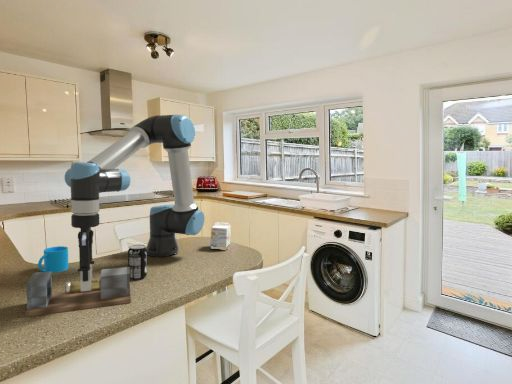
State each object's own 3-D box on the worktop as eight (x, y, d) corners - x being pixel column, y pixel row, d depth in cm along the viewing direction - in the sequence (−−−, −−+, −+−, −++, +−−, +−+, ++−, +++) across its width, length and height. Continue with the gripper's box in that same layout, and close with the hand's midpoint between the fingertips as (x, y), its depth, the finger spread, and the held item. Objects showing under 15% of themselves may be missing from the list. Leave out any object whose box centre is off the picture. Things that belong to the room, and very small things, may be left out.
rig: (129, 288, 108) (129, 262, 108) (130, 302, 97) (130, 274, 97) (36, 299, 98) (35, 270, 97) (25, 316, 87) (24, 285, 86)
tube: (123, 285, 104) (123, 274, 103) (123, 289, 100) (123, 278, 100) (67, 291, 97) (67, 280, 97) (65, 296, 94) (65, 284, 94)
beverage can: (142, 273, 123) (142, 243, 122) (149, 277, 119) (149, 246, 118) (125, 277, 119) (125, 245, 118) (132, 282, 114) (132, 249, 113)
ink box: (210, 249, 160) (210, 223, 159) (214, 245, 168) (215, 220, 167) (226, 251, 159) (227, 224, 157) (230, 246, 167) (231, 221, 166)
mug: (56, 264, 130) (56, 245, 129) (73, 267, 128) (73, 247, 127) (29, 274, 118) (29, 253, 117) (47, 277, 116) (47, 255, 116)
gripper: (75, 209, 102) (76, 279, 104) (66, 218, 86) (68, 300, 89) (100, 209, 105) (101, 277, 107) (97, 217, 89) (98, 297, 92)
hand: (86, 287), depth 98 cm, fingers closed on tube, 4 cm apart
